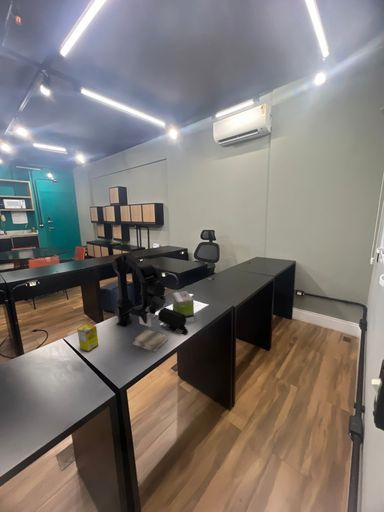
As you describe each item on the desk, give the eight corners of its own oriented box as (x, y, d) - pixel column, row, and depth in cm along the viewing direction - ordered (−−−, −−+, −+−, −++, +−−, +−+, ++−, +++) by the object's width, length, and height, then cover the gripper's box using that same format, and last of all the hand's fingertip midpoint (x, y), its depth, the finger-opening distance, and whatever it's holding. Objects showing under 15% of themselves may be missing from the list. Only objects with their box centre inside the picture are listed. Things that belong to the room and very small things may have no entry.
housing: (139, 323, 105) (139, 316, 105) (146, 319, 110) (145, 312, 109) (152, 327, 102) (152, 319, 101) (159, 322, 106) (158, 315, 105)
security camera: (182, 337, 111) (182, 319, 109) (157, 326, 122) (157, 310, 120) (190, 331, 117) (190, 314, 115) (166, 321, 128) (165, 306, 126)
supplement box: (98, 345, 106) (96, 325, 103) (88, 352, 100) (85, 331, 98) (90, 342, 108) (87, 323, 106) (79, 349, 103) (77, 328, 101)
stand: (132, 344, 106) (132, 338, 106) (146, 333, 116) (146, 328, 115) (155, 352, 100) (154, 346, 99) (168, 340, 109) (168, 334, 109)
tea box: (172, 314, 138) (171, 292, 135) (187, 311, 140) (186, 290, 137) (178, 325, 123) (177, 301, 120) (194, 322, 126) (194, 299, 123)
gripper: (148, 301, 91) (150, 334, 94) (172, 287, 107) (173, 316, 110) (128, 296, 96) (131, 328, 99) (154, 284, 112) (155, 311, 115)
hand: (149, 321), depth 106 cm, fingers closed on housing, 5 cm apart
